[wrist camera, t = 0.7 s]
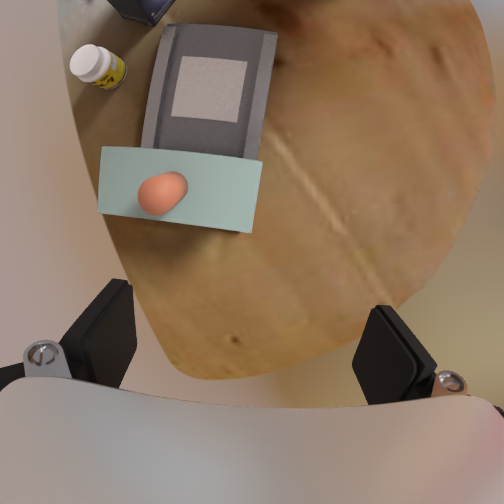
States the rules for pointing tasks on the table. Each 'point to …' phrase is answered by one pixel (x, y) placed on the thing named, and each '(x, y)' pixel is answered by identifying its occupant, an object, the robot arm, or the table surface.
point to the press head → (179, 187)
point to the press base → (209, 90)
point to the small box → (142, 9)
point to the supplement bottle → (98, 67)
